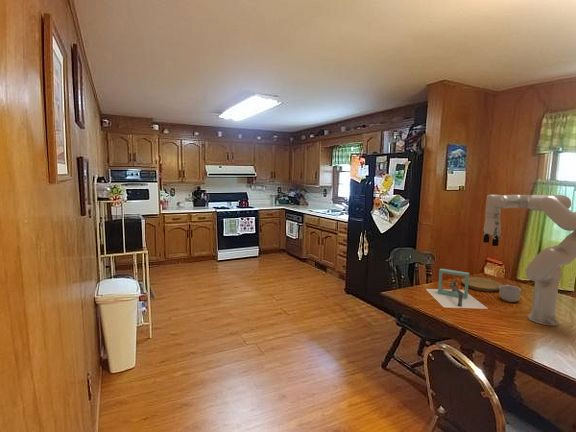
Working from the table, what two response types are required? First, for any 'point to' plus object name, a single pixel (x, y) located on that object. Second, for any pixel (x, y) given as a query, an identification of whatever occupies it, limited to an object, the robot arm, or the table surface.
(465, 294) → the teal rectangular frame
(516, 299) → the teacup
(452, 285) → the dark hinged linkage
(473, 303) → the base board
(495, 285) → the plant saucer
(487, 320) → the table surface
